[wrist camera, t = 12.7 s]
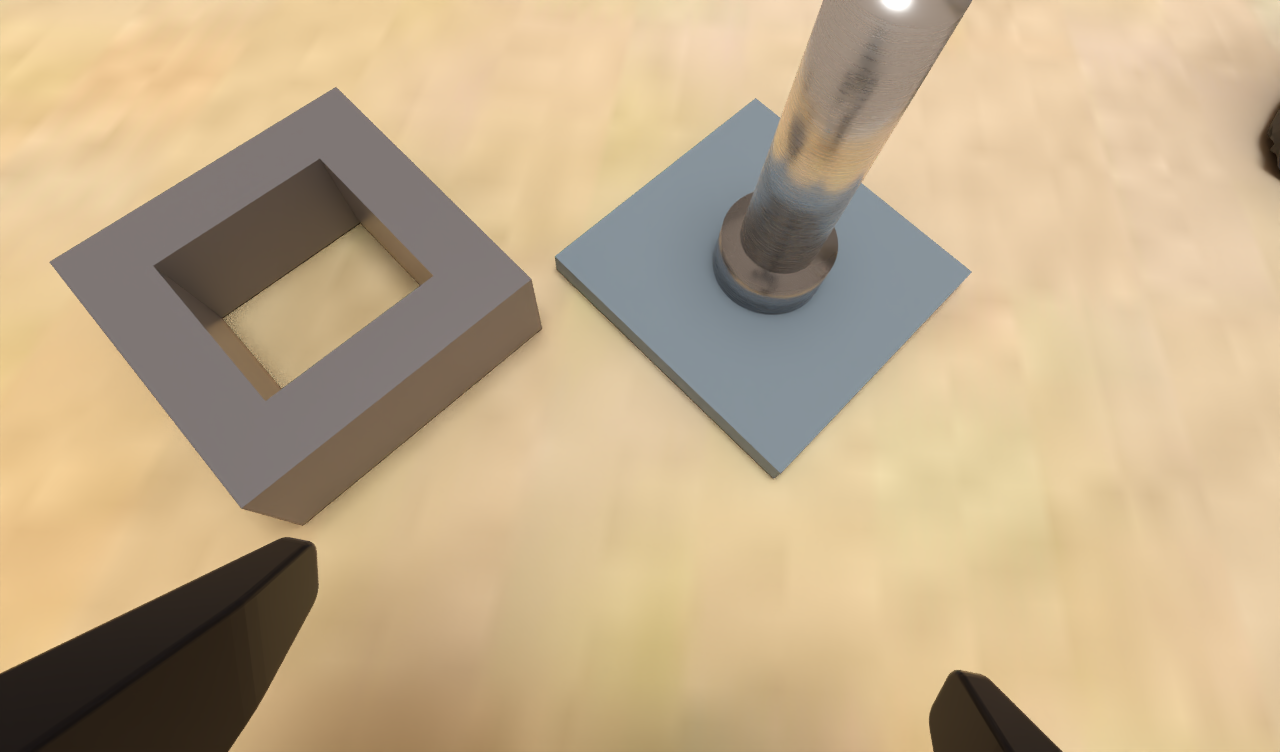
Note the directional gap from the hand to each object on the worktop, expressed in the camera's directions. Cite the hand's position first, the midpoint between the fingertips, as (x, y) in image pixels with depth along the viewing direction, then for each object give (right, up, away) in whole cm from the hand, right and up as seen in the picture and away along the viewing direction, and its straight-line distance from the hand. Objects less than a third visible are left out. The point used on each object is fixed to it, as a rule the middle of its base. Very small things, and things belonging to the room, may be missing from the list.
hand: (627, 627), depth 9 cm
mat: (+5, +8, +18) cm, 20 cm away
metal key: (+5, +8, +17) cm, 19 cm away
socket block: (-11, +6, +16) cm, 20 cm away
